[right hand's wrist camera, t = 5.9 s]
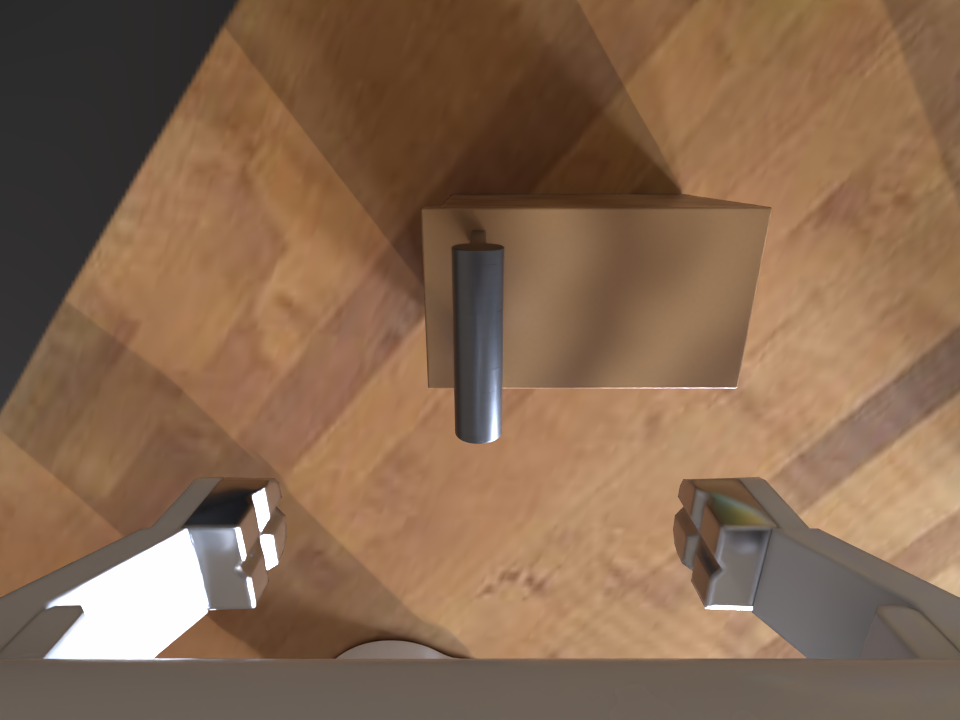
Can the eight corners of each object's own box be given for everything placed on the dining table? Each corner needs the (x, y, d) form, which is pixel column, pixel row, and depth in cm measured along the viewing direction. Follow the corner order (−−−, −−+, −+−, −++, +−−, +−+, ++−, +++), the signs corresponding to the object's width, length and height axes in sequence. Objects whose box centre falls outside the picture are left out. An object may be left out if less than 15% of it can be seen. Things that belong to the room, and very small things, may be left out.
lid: (430, 380, 28) (410, 463, 20) (423, 205, 25) (396, 224, 17) (727, 379, 28) (823, 463, 20) (759, 205, 25) (888, 223, 17)
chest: (454, 327, 37) (445, 379, 28) (451, 194, 34) (440, 205, 25) (666, 327, 37) (726, 379, 28) (684, 194, 34) (759, 204, 25)
